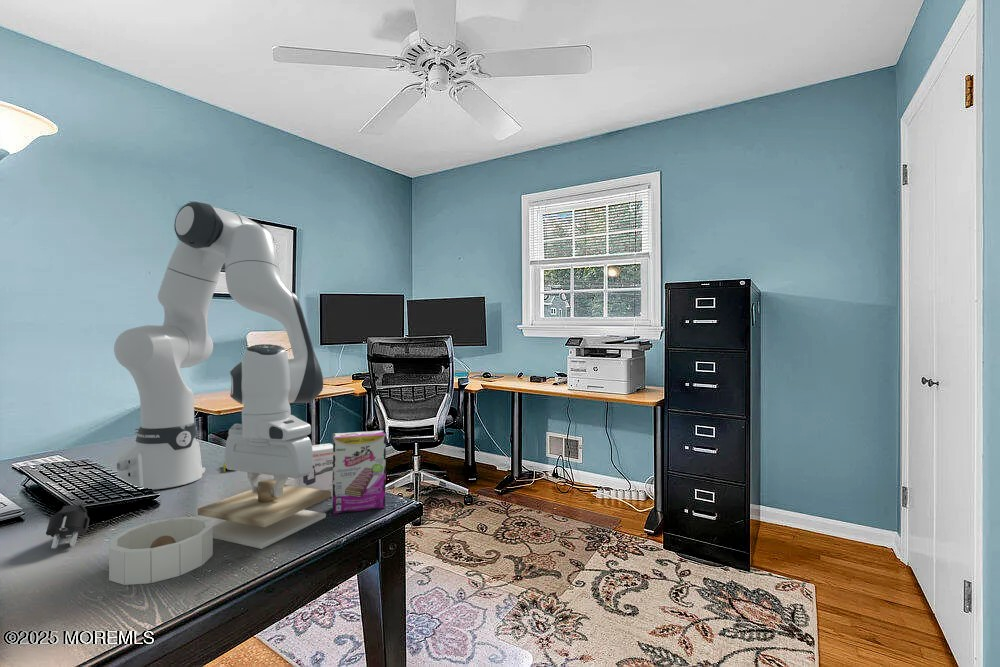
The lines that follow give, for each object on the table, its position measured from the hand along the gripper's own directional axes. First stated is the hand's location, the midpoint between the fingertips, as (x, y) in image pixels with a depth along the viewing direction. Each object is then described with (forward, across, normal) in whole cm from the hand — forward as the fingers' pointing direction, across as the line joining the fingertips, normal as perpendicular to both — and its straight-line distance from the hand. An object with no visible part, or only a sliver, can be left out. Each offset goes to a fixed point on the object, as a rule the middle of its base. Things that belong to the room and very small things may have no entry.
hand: (267, 495), depth 97 cm
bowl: (+6, -3, -18) cm, 20 cm away
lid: (+2, 0, 0) cm, 2 cm away
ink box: (+6, -3, +17) cm, 18 cm away
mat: (+6, 0, 0) cm, 6 cm away
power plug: (+8, -31, -15) cm, 36 cm away
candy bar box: (+6, +11, +14) cm, 19 cm away
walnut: (+3, -3, -18) cm, 19 cm away
